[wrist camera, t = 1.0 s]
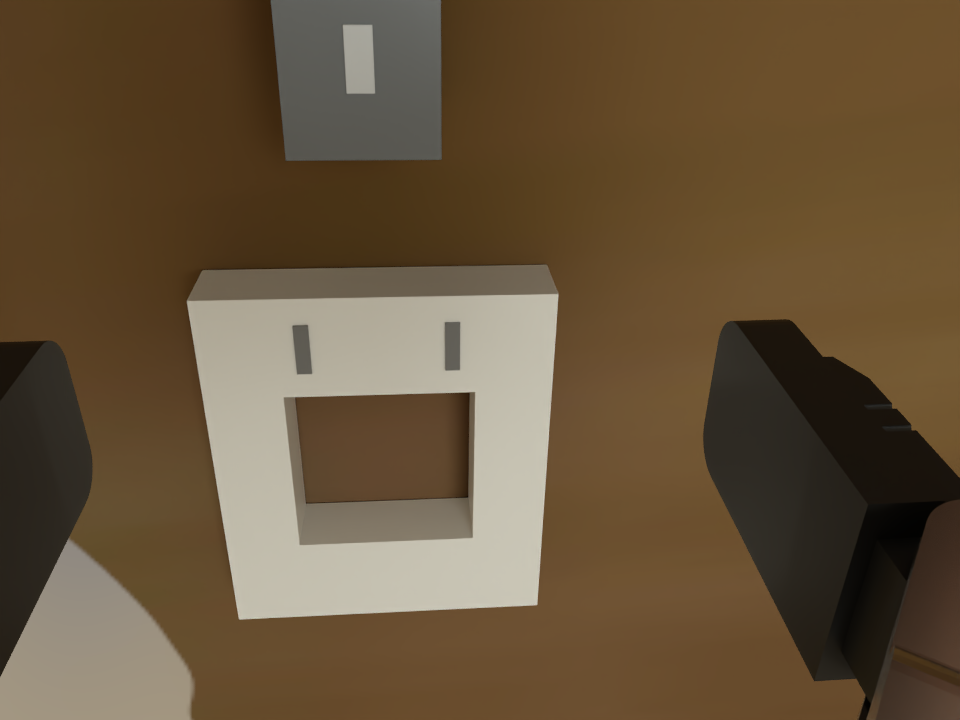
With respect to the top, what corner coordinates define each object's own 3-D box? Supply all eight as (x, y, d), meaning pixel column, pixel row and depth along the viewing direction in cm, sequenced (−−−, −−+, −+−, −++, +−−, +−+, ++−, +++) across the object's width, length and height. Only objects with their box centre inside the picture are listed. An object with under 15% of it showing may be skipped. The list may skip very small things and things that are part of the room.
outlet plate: (202, 270, 29) (185, 302, 27) (547, 264, 30) (558, 295, 28) (248, 575, 36) (238, 621, 34) (529, 562, 37) (537, 606, 35)
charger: (293, -69, 25) (265, -56, 19) (431, -67, 25) (441, -53, 20) (307, 107, 27) (285, 161, 22) (433, 107, 27) (441, 160, 22)
